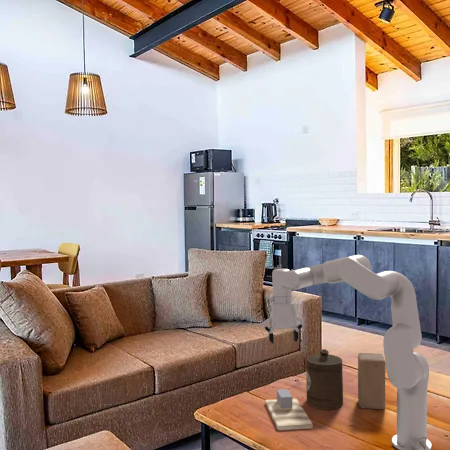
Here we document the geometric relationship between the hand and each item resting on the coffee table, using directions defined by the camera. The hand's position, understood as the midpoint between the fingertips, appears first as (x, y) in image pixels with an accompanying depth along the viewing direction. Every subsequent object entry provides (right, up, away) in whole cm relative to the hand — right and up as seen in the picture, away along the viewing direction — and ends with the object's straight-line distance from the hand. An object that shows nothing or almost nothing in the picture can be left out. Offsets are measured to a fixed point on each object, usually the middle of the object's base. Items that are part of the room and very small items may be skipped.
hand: (283, 341), depth 200 cm
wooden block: (+36, -26, +3) cm, 45 cm away
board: (+1, -27, -6) cm, 28 cm away
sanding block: (0, -25, -1) cm, 25 cm away
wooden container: (+18, -27, +6) cm, 32 cm away
